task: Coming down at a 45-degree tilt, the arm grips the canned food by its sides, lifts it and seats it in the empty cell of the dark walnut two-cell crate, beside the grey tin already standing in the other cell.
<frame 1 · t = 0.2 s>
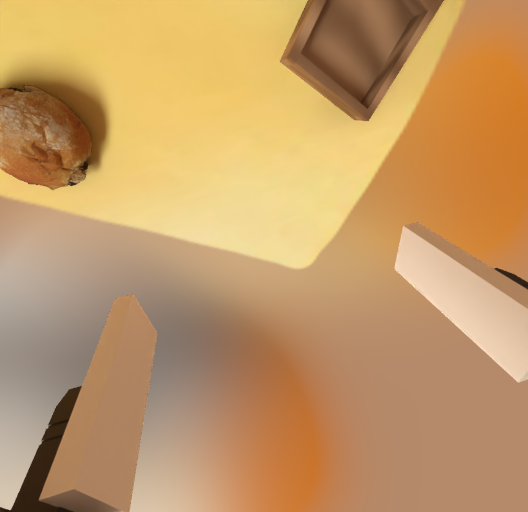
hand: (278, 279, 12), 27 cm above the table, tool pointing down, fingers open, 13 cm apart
bread roll: (48, 139, 30), on the table
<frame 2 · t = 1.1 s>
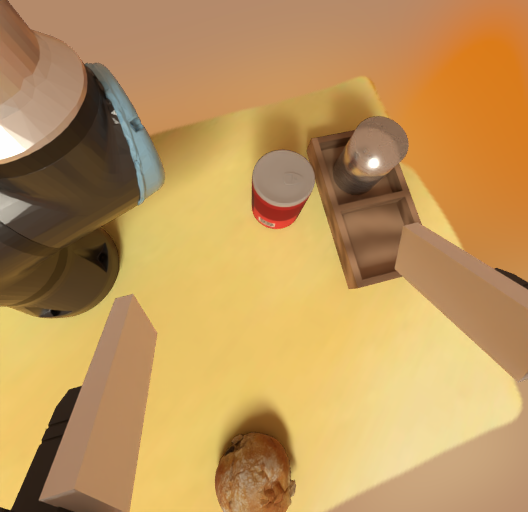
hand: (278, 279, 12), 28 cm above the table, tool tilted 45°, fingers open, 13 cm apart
canned food: (275, 209, 42), on the table
walnut crate: (362, 208, 43), on the table
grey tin: (352, 177, 44), resting on walnut crate
bread roll: (256, 468, 35), on the table
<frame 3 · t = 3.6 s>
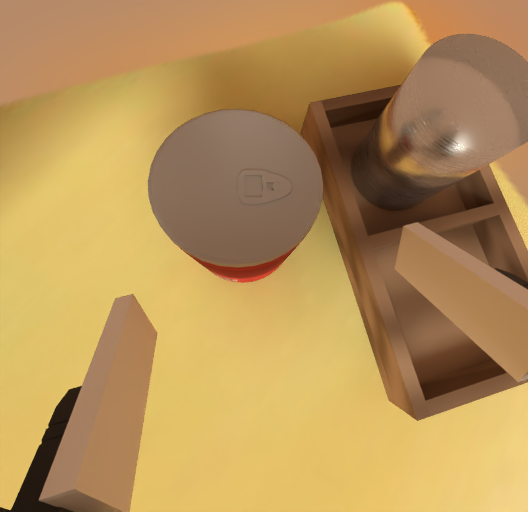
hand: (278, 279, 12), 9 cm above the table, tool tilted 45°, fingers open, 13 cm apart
canned food: (243, 240, 22), on the table
walnut crate: (407, 236, 23), on the table
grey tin: (385, 176, 24), resting on walnut crate
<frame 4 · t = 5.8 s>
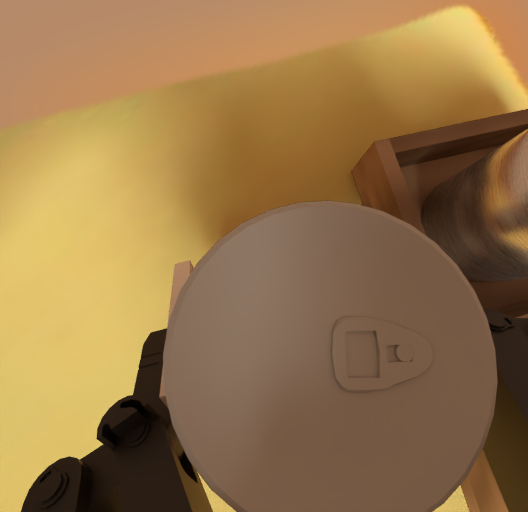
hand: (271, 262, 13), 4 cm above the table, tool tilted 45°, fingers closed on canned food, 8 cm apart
canned food: (279, 319, 17), on the table, touching gripper
walnut crate: (494, 313, 17), on the table
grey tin: (461, 231, 18), resting on walnut crate
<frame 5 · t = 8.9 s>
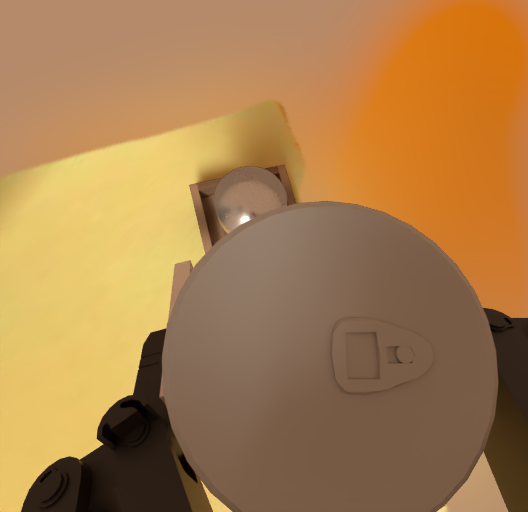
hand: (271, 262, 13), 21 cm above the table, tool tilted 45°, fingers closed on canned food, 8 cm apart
canned food: (279, 320, 17), point 18 cm above the table, touching gripper
walnut crate: (260, 267, 35), on the table
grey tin: (249, 227, 36), resting on walnut crate
when the fingers open (6 cm above the table, at t = 12.3 s): canned food drops 1 cm, resting on walnut crate.
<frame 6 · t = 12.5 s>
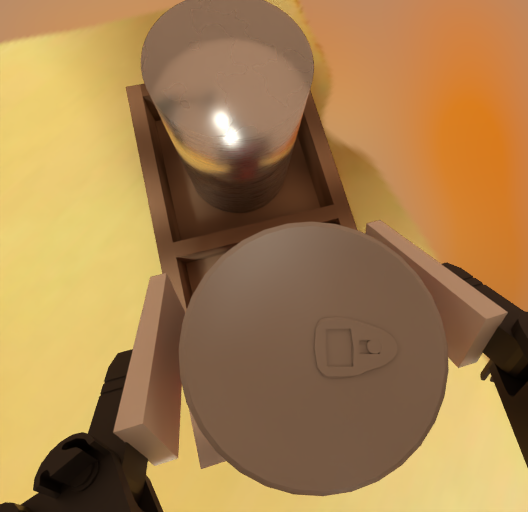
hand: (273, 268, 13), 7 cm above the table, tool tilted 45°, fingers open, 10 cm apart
canned food: (277, 319, 18), point 1 cm above the table, touching walnut crate
walnut crate: (256, 242, 20), on the table
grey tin: (238, 174, 21), resting on walnut crate
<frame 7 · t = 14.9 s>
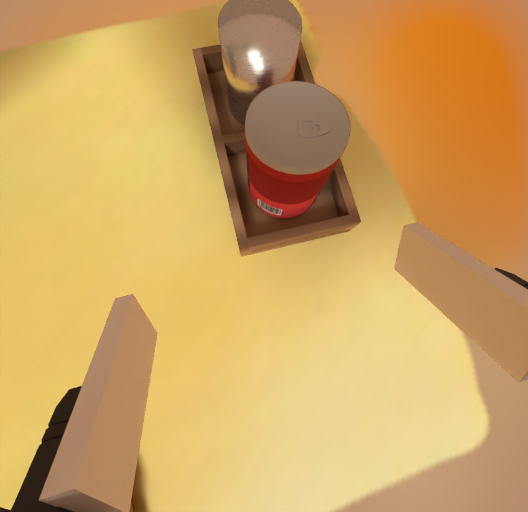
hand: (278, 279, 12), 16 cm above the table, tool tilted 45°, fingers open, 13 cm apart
canned food: (282, 190, 29), point 1 cm above the table, touching walnut crate
walnut crate: (269, 149, 31), on the table
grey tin: (258, 108, 32), resting on walnut crate
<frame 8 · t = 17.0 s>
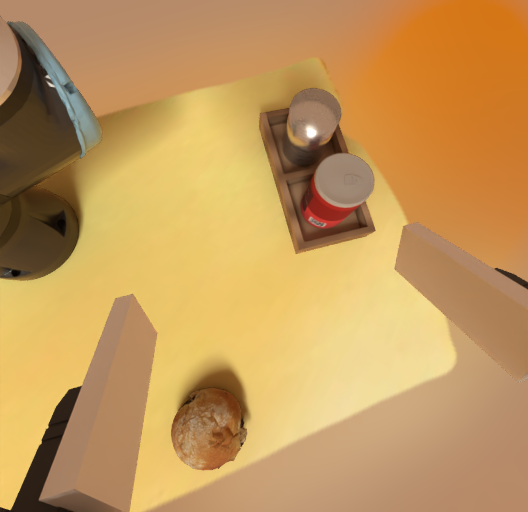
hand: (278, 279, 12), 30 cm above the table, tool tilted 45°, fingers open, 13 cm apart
canned food: (321, 209, 44), point 1 cm above the table, touching walnut crate
walnut crate: (310, 180, 46), on the table
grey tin: (301, 150, 47), resting on walnut crate
bread roll: (213, 420, 38), on the table
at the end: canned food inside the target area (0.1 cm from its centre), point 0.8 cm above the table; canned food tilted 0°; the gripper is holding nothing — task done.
